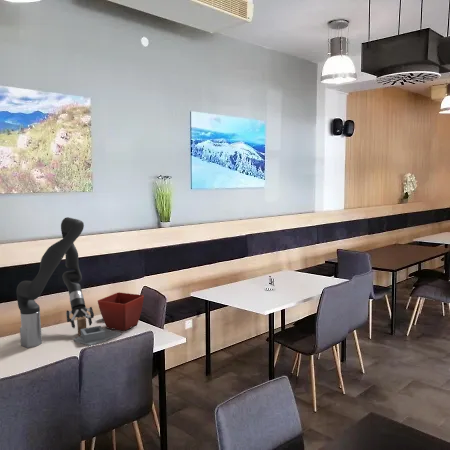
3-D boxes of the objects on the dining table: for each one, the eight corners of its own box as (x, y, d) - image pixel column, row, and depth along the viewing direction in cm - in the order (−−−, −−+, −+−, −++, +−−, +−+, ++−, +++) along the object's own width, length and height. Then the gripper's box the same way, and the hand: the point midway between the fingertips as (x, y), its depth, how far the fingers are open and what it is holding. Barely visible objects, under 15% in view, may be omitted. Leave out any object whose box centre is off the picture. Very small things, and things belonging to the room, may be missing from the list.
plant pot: (125, 333, 246) (124, 303, 244) (98, 329, 254) (96, 300, 252) (145, 323, 263) (144, 295, 261) (119, 319, 271) (118, 292, 269)
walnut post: (79, 335, 244) (78, 319, 243) (77, 333, 248) (77, 317, 247) (86, 334, 246) (85, 318, 245) (85, 332, 250) (84, 316, 249)
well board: (90, 346, 228) (89, 336, 228) (73, 340, 237) (73, 331, 236) (121, 334, 244) (120, 325, 244) (104, 329, 253) (103, 321, 252)
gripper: (64, 299, 248) (69, 325, 239) (90, 295, 255) (96, 320, 246) (63, 306, 253) (68, 331, 245) (89, 302, 260) (94, 327, 251)
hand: (82, 326), depth 245 cm, fingers open, 8 cm apart
